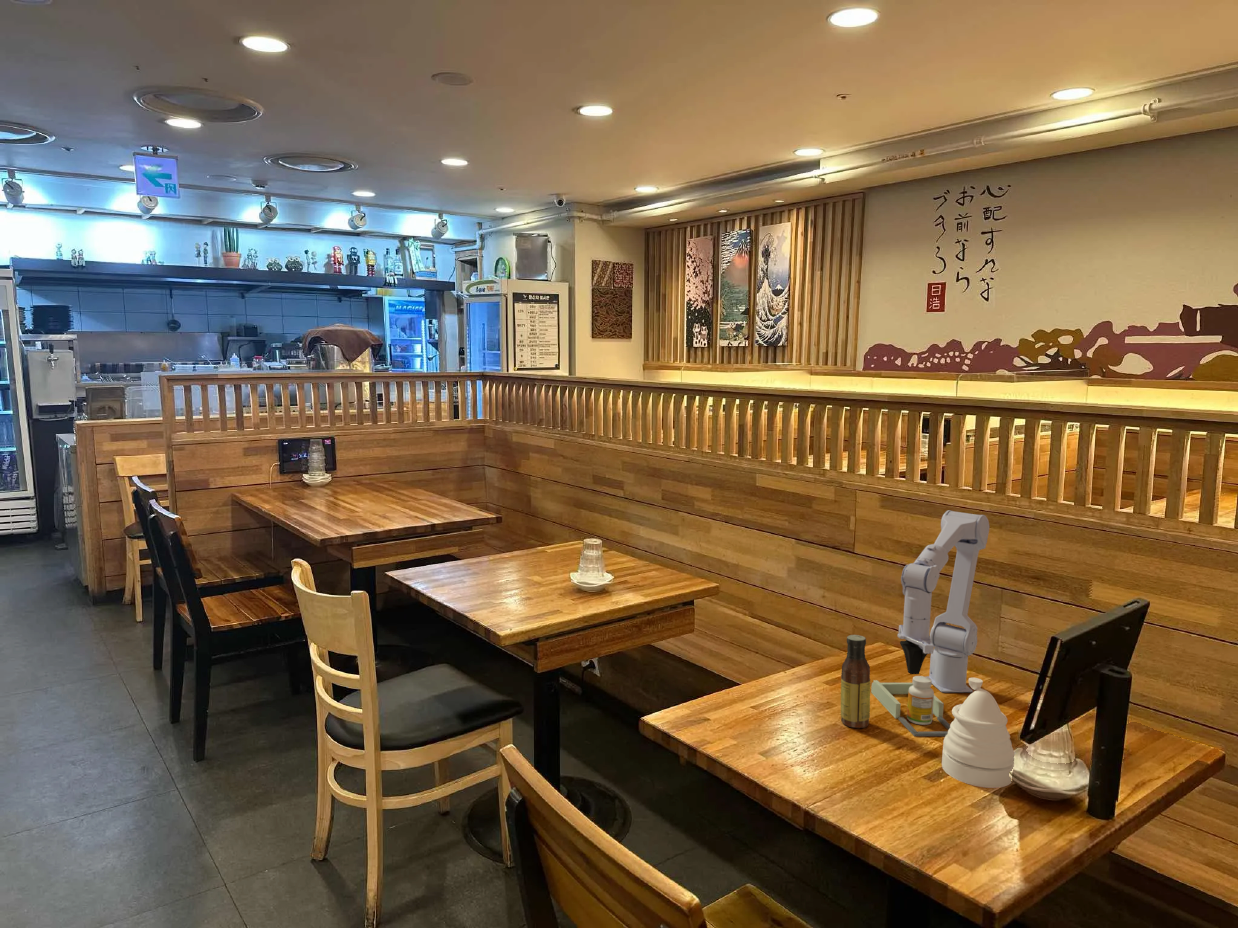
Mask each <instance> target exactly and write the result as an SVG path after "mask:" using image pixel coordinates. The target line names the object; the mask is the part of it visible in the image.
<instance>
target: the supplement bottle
mask: <svg viewBox="0 0 1238 928" xmlns="http://www.w3.org/2000/svg"><path fill="white" fill-rule="evenodd" d="M931 682H932V680H931V679H930V678H928V677H926V676H923V675H915V676H913V677H912V682H911V683H912V684H913V685H912V686H911V687H910V688H909V691H908V694H907V709H906V718H907V719H906V720H908V722H909V723H912V724H915V725H920V726H922V725H923V726H926V725H927V726H928V725H930V724H932V722H933V718H934V717H933V715H934V714H933V702H934V695H935V692H934V689H933V688H931V687H932V683H931Z"/></svg>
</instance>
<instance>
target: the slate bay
mask: <svg viewBox="0 0 1238 928" xmlns="http://www.w3.org/2000/svg"><path fill="white" fill-rule="evenodd" d="M897 720H898V721H899V722H900V723H901V724H902V725H903V726H904V727H905V728H906V729H907V730H908V732H910V734H911V735H912V736H913V737H945V736H946V735H947V734H948V730H949V728H950V725H951V723H949V722H948V720H946V719H945V718H944V716H943V717H936V720H937V721H938V722H939V723H940V724H942V726H944V727H945V729H946V730H945V731H942V730H941V731H939V730H938V731H935V730H934V731H933V730H932V731H917V730H916V729H915V728H914V727H913V726H912V724H910V722H909V721H907V719H906V718H905V717H904V716H900V717H899V719H897Z"/></svg>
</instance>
